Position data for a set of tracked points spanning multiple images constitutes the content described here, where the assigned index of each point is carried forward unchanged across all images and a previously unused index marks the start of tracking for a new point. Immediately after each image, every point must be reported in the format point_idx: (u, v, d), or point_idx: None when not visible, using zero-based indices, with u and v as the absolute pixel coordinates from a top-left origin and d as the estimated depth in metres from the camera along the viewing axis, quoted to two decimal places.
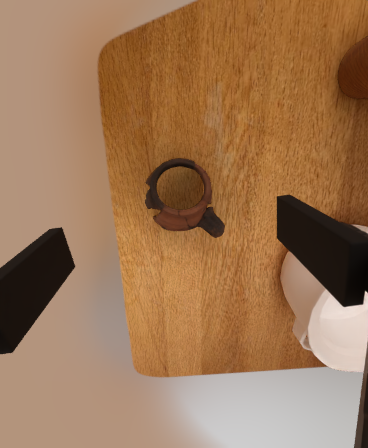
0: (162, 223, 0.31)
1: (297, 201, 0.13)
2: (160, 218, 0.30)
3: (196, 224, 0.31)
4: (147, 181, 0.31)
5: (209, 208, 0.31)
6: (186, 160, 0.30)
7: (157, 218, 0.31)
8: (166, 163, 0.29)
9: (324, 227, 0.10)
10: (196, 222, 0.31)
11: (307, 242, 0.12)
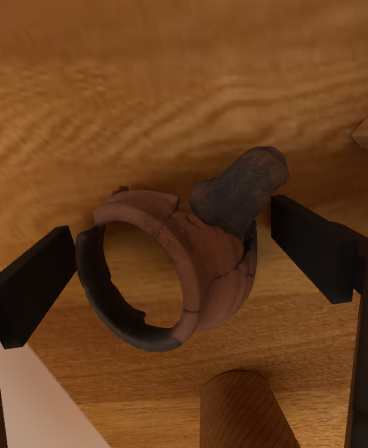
0: (228, 317, 0.12)
1: (290, 201, 0.13)
2: (213, 326, 0.12)
3: (237, 239, 0.11)
4: None
5: (192, 201, 0.10)
6: (76, 252, 0.12)
7: (214, 327, 0.12)
8: (88, 295, 0.13)
9: (314, 226, 0.10)
10: (231, 242, 0.10)
11: (299, 241, 0.12)
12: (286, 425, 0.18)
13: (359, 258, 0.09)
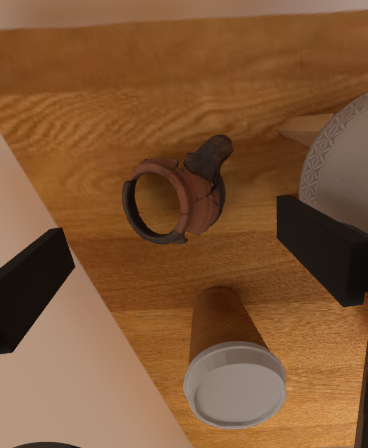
0: (204, 227, 0.23)
1: (297, 201, 0.13)
2: (196, 231, 0.23)
3: (208, 182, 0.21)
4: None
5: (184, 162, 0.21)
6: (123, 192, 0.23)
7: (197, 233, 0.23)
8: (128, 217, 0.24)
9: (324, 227, 0.10)
10: (204, 182, 0.21)
11: (307, 242, 0.12)
12: (245, 311, 0.28)
13: None
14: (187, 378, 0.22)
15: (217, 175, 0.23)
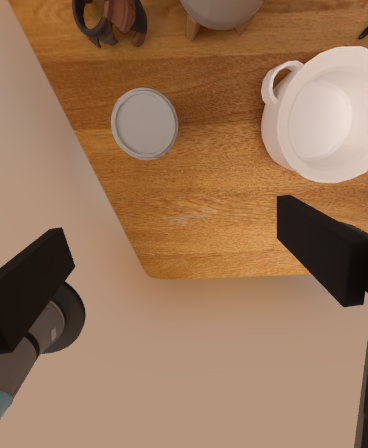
0: (125, 24, 0.35)
1: (297, 201, 0.13)
2: (119, 25, 0.35)
3: None
4: (96, 44, 0.38)
5: None
6: (72, 2, 0.35)
7: (121, 29, 0.35)
8: (77, 21, 0.36)
9: (324, 227, 0.10)
10: None
11: (307, 242, 0.12)
12: None
13: None
14: (112, 116, 0.34)
15: None
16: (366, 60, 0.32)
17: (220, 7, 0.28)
